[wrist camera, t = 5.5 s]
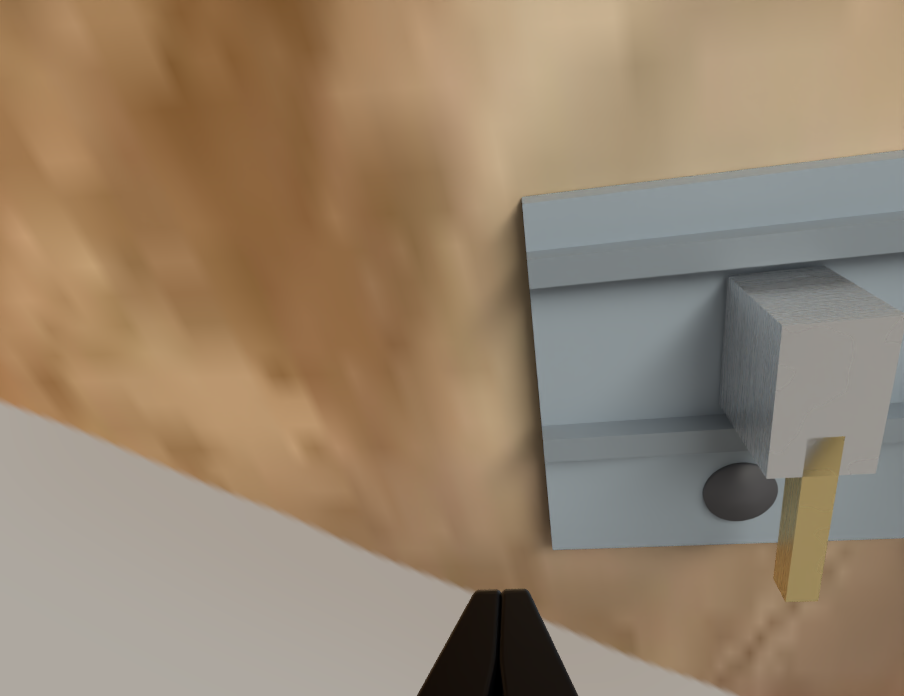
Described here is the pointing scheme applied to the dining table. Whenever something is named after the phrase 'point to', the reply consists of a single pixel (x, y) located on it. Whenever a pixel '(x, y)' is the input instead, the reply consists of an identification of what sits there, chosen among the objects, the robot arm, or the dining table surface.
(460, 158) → the dining table surface
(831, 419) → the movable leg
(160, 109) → the dining table surface
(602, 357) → the board
